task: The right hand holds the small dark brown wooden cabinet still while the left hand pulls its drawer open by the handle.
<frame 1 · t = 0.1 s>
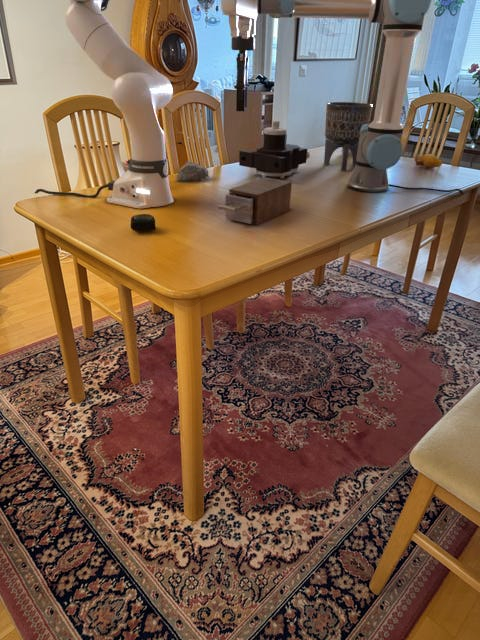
left hand: (240, 37, 123), 48 cm above the table, tool pointing down, fingers open, 8 cm apart
right hand: (241, 109, 155), 28 cm above the table, tool pointing down, fingers open, 13 cm apart
rock: (194, 180, 183), on the table
tape measure: (145, 231, 129), on the table
figurine: (350, 154, 240), on the table
toy: (426, 167, 214), on the table
mechanical component: (280, 173, 196), on the table
cabinet: (260, 214, 145), on the table
planter: (341, 167, 211), on the table
drawer: (249, 204, 138), point 5 cm above the table, slide at 1.5 cm
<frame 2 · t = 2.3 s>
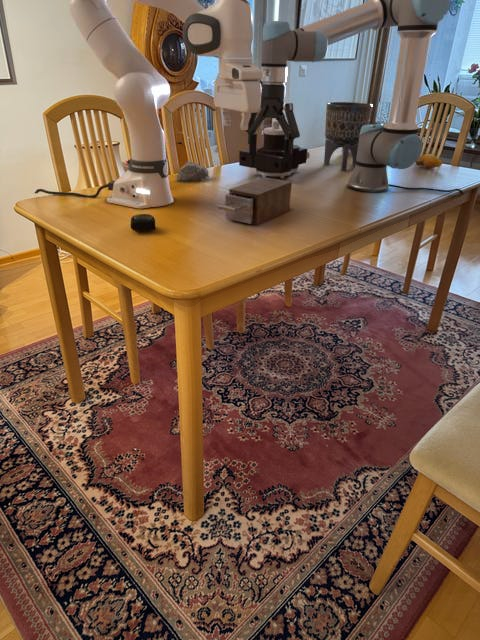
left hand: (235, 127, 126), 26 cm above the table, tool pointing down, fingers open, 8 cm apart
right hand: (269, 158, 145), 16 cm above the table, tool pointing down, fingers open, 13 cm apart
nothing on the table moved.
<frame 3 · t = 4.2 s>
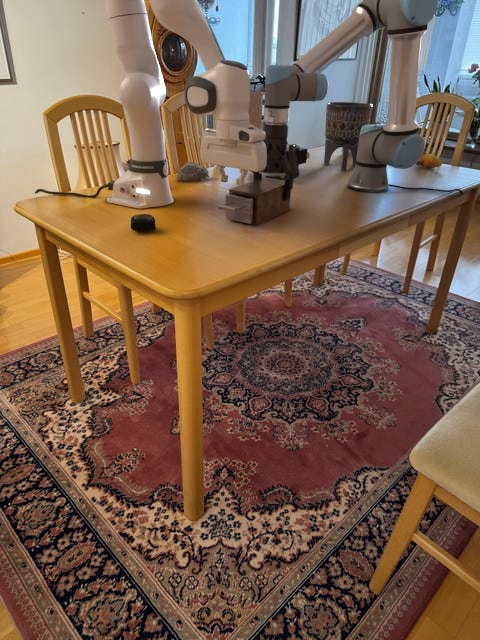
left hand: (232, 183, 128), 13 cm above the table, tool pointing down, fingers open, 4 cm apart
right hand: (271, 196, 148), 4 cm above the table, tool pointing down, fingers closed on cabinet, 10 cm apart
cabinet: (260, 214, 145), on the table, touching right hand
everything else where it was.
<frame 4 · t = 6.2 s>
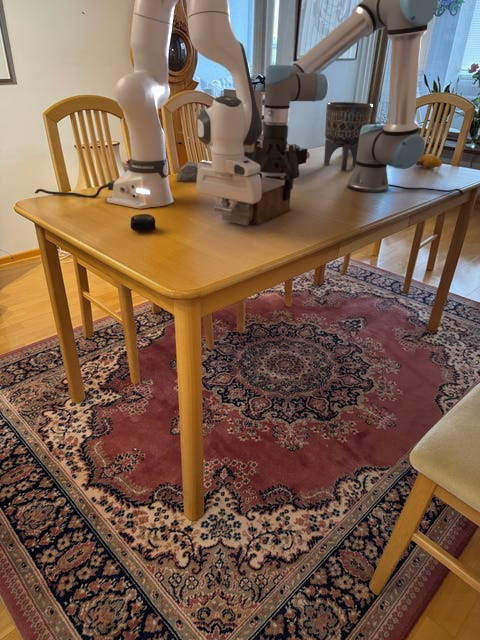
left hand: (227, 213, 130), 5 cm above the table, tool pointing down, fingers closed, pressing on drawer
right hand: (272, 196, 148), 4 cm above the table, tool pointing down, fingers closed on cabinet, 10 cm apart
cabinet: (260, 214, 145), on the table, touching right hand
drawer: (246, 205, 137), point 5 cm above the table, slide at 3.3 cm, touching left hand
everything else where it was.
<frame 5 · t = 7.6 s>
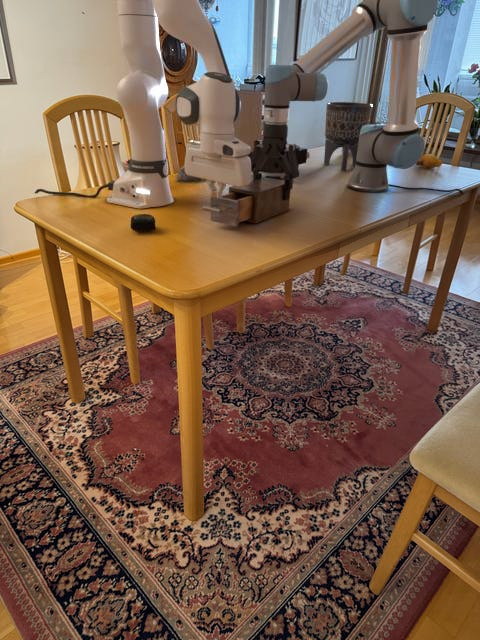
left hand: (216, 197, 124), 10 cm above the table, tool pointing down, fingers closed
right hand: (271, 196, 148), 4 cm above the table, tool pointing down, fingers closed on cabinet, 10 cm apart
cabinet: (259, 213, 145), on the table, touching right hand
drawer: (236, 207, 133), point 5 cm above the table, slide at 8.3 cm
everything else where it was.
when the right hand's fingers open (4 cm above the table, at t = 8.6 s): cabinet stays where it is, on the table.
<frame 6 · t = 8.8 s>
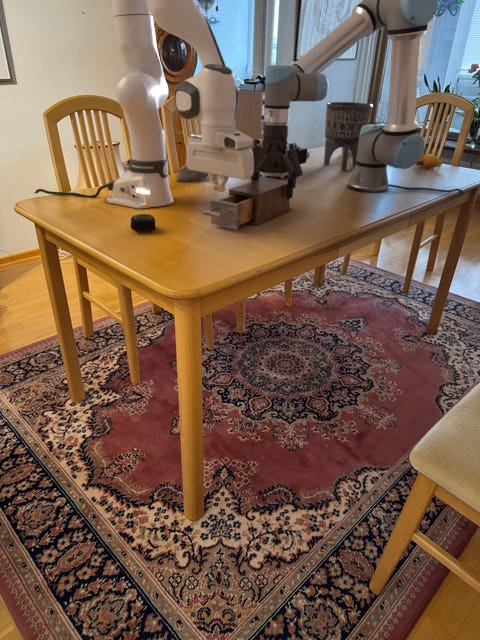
left hand: (218, 191, 124), 12 cm above the table, tool pointing down, fingers closed
right hand: (272, 194, 148), 5 cm above the table, tool pointing down, fingers open, 12 cm apart
cabinet: (259, 214, 145), on the table
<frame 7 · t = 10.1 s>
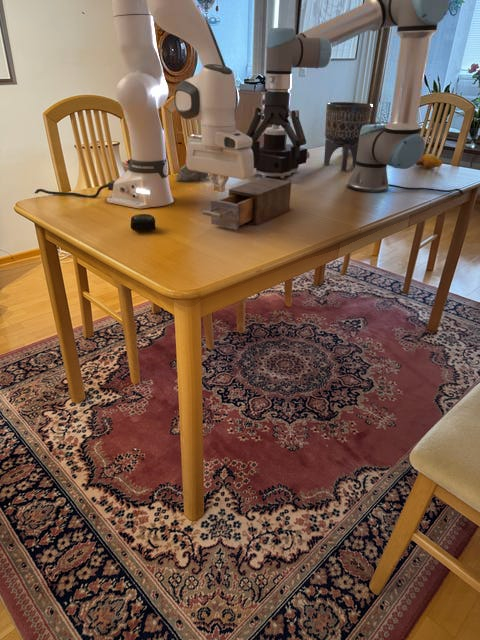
left hand: (218, 191, 123), 12 cm above the table, tool pointing down, fingers closed
right hand: (273, 165, 143), 14 cm above the table, tool pointing down, fingers open, 13 cm apart
nothing on the table moved.
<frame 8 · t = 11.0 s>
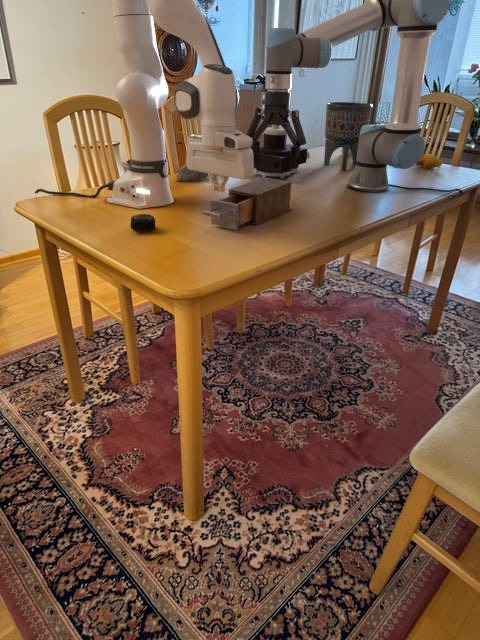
left hand: (218, 191, 123), 12 cm above the table, tool pointing down, fingers closed
right hand: (273, 165, 143), 14 cm above the table, tool pointing down, fingers open, 13 cm apart
nothing on the table moved.
at the end: drawer slide at 8.3 cm; cabinet tilted 0°; cabinet never tilted more than 2° during the clip; cabinet moved 0.1 cm from its start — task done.
